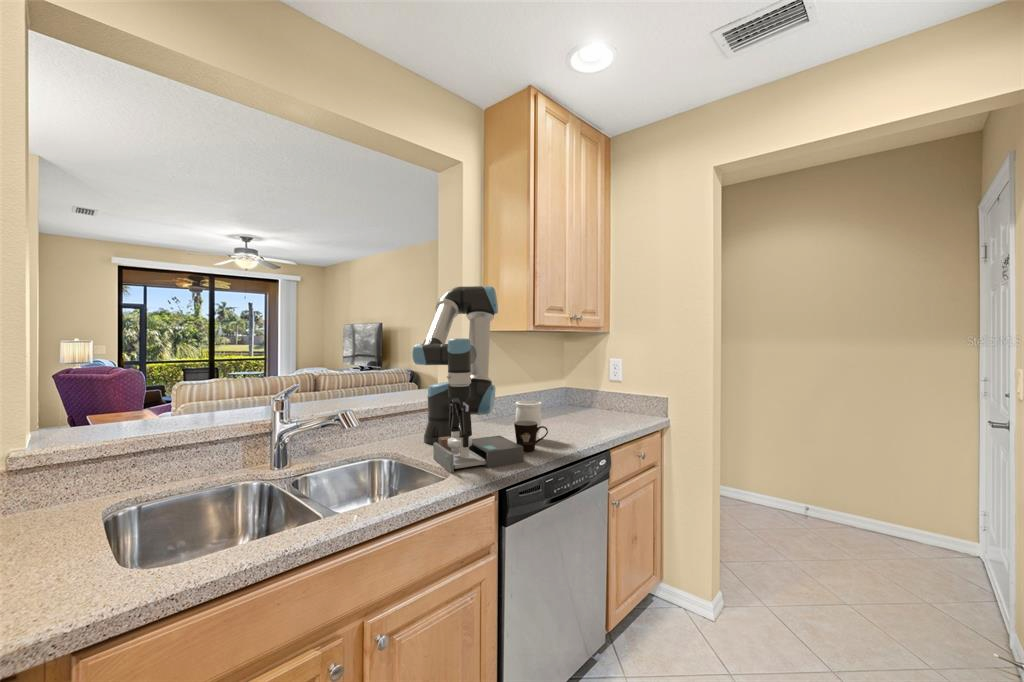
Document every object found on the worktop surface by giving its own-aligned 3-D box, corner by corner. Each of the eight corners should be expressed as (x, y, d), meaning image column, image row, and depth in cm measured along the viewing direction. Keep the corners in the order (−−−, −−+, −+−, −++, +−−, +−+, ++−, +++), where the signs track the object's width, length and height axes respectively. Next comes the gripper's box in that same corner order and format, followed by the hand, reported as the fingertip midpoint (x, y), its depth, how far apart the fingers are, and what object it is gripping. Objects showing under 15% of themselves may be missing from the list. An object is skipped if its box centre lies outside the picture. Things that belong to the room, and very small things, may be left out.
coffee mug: (510, 451, 163) (510, 424, 163) (520, 446, 170) (520, 419, 170) (539, 455, 157) (539, 427, 157) (549, 449, 165) (548, 422, 165)
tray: (432, 459, 153) (432, 442, 153) (467, 454, 159) (467, 438, 159) (449, 473, 138) (449, 455, 138) (487, 467, 144) (487, 449, 144)
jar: (510, 439, 181) (510, 402, 181) (528, 435, 188) (528, 399, 188) (528, 443, 173) (528, 405, 173) (547, 439, 180) (546, 402, 180)
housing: (466, 454, 160) (466, 438, 159) (499, 449, 166) (499, 434, 165) (487, 467, 143) (487, 451, 143) (523, 462, 149) (523, 446, 149)
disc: (466, 441, 154) (466, 435, 154) (475, 446, 147) (475, 440, 147) (444, 444, 150) (444, 437, 150) (452, 449, 143) (452, 442, 143)
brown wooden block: (438, 454, 159) (438, 437, 159) (449, 452, 161) (449, 436, 161) (442, 457, 156) (442, 440, 156) (453, 455, 158) (453, 438, 158)
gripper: (438, 382, 156) (439, 448, 156) (459, 389, 137) (460, 463, 138) (459, 381, 159) (459, 445, 159) (482, 387, 141) (482, 459, 141)
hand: (459, 453), depth 149 cm, fingers closed on disc, 8 cm apart
